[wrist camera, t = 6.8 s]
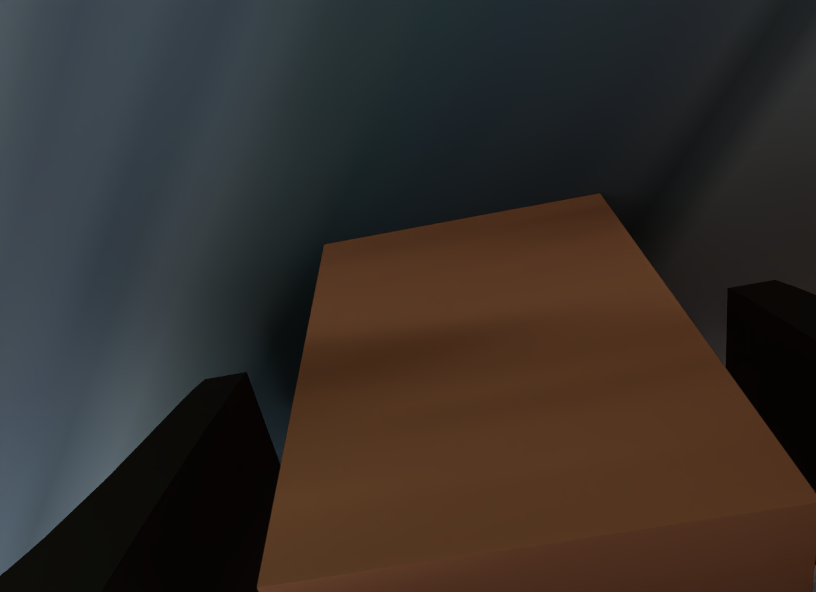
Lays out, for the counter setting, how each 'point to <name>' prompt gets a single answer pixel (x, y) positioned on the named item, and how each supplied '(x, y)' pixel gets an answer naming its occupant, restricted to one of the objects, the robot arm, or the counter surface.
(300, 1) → the counter surface
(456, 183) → the counter surface
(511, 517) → the terracotta block
